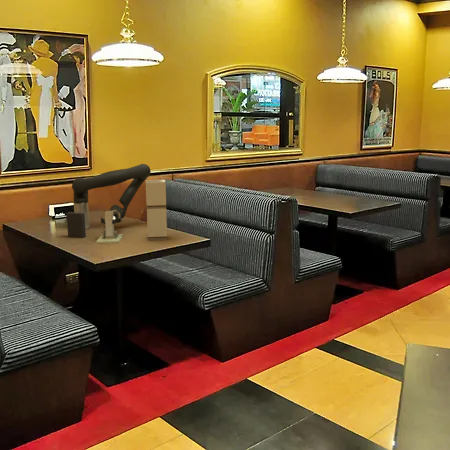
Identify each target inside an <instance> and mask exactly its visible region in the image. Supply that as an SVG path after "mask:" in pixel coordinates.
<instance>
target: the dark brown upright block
mask: <svg viewBox="0 0 450 450" xmlns="http://www.w3.org/2000/svg"><path fill="white" fill-rule="evenodd" d="M65 214H66V215H65V216H66V217H65V219H66V224H67V236H68V237H70V238H81V239H83V238H85V237H86V236H87V234H86V231H87V230H86V229H85V214H84V213H77V212H74V211H68V212H66V213H65Z"/></svg>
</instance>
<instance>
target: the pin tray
mask: <svg viewBox="0 0 450 450" xmlns="http://www.w3.org/2000/svg"><path fill="white" fill-rule="evenodd" d="M101 232H102V234H101V235H100V236H99V238H98V239H97V240H96V242H95V243H96V244H119V243H120V242H121V240H122V239H123V237H124V234H123V233H122V234H121V233H120V234H119V233H118V232H119V231H118V230H117V229H116V230H115V229H114V235H113V236H106V229H105V230H104V229H103V231H101Z"/></svg>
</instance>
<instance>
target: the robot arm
mask: <svg viewBox="0 0 450 450" xmlns="http://www.w3.org/2000/svg"><path fill="white" fill-rule="evenodd" d="M151 173H152V172H151V168H150V166H149V165H147V164H146V163H140V164H138V165H135V166H131V167H129V168H128V167H127V168H121V169H116V170H111V171H110V170H109V171H107V172H102V173H100V174H97V175H96V176H91V177H88V178H84V177H76V178H75V179H74V180H73V182H72V184H71V188H72V190H73V198H72V199H73V212H77V213H84V214H85V230H87V229H90V228H91V227H90V226H91V225H90V211H89V191H90V190H93V189H98V188H99V189H100V188H104V187H105V188H106V187H111V186H115V185H121V184H122V183H125V182H127V181H130V180H132V181H131V183H130V184H129V185H128V186H127V187H126V189H125V190H124V191H123V193H122V195H121V196H120V197H119V199H118V202H119V203H120V204H121V205H122V206H123V207H121V206H119V205H118V204H113V205H111V207H110V208H109V211H113V216H114V219H113V220H112V224H114V225H116V224H120V223H122V222H124V221H123V219H124V218H125V217H126V214H127V210H128V207H129V205H130V203H131V202H132V200H133V199H134V197H135V196H136V193H137V192H138V190H140V189H139V188H140V187H141V186H142V185H143V184H144V182H146V180H148V178H149V177H150V175H151ZM100 222H101V224H104V225H105V217H100Z"/></svg>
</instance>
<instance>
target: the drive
mask: <svg viewBox="0 0 450 450" xmlns="http://www.w3.org/2000/svg"><path fill="white" fill-rule="evenodd" d="M104 218H105V224H104V225H105V226H104V227H105V231H106V236H113V235H114V232H115V224H112V220H113V219H114V216H113V211H110V210H106V211H105V212H104Z"/></svg>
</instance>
